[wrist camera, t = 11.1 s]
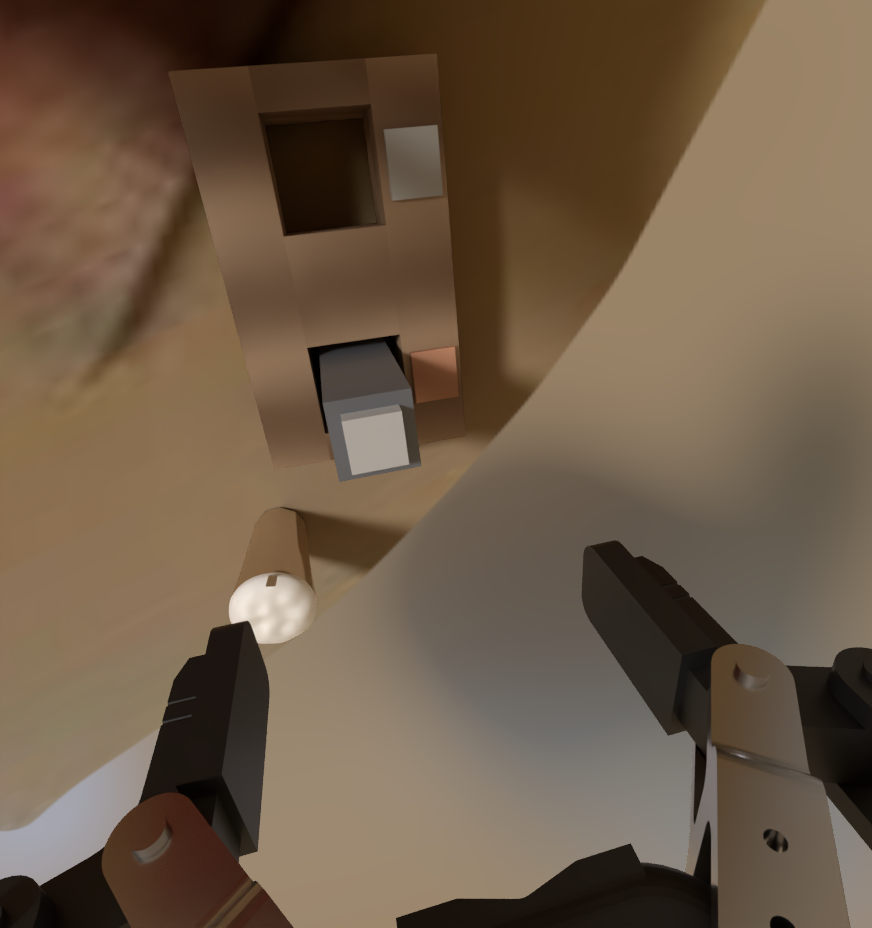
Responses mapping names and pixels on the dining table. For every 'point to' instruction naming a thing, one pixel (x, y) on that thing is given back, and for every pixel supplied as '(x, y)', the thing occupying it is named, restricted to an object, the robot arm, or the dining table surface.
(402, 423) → the plug
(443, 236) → the port deck
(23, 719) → the dining table surface
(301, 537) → the milkshake
